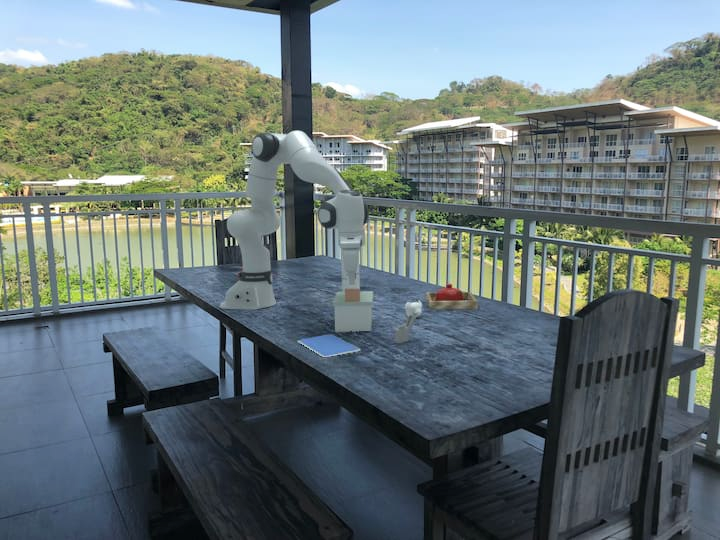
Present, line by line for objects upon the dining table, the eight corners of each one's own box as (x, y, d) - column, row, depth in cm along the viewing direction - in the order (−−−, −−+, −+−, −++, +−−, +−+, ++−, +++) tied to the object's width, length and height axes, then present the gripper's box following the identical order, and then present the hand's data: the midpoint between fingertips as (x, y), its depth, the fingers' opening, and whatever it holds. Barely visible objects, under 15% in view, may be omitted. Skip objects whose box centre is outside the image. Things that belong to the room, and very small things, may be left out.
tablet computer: (361, 353, 162) (361, 348, 162) (323, 360, 156) (323, 356, 156) (331, 337, 179) (331, 333, 179) (296, 343, 173) (296, 339, 172)
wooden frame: (429, 309, 212) (429, 301, 211) (426, 299, 229) (426, 292, 228) (477, 308, 211) (477, 301, 210) (470, 298, 228) (470, 291, 227)
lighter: (398, 343, 169) (398, 318, 167) (394, 342, 170) (394, 317, 169) (416, 339, 173) (416, 315, 171) (412, 338, 174) (412, 313, 173)
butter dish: (429, 305, 219) (429, 284, 218) (444, 300, 228) (444, 280, 226) (453, 309, 212) (453, 287, 210) (469, 304, 220) (469, 283, 219)
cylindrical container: (358, 306, 219) (356, 243, 215) (340, 305, 221) (339, 243, 217) (361, 302, 226) (360, 241, 222) (344, 301, 228) (343, 241, 223)
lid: (332, 307, 181) (332, 290, 180) (337, 296, 198) (336, 280, 197) (372, 307, 181) (371, 290, 180) (373, 296, 198) (372, 280, 197)
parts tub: (335, 331, 183) (334, 305, 182) (339, 319, 199) (338, 295, 197) (371, 331, 183) (370, 305, 181) (372, 319, 198) (371, 294, 197)
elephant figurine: (412, 320, 196) (412, 304, 195) (399, 316, 202) (399, 300, 201) (427, 317, 199) (427, 301, 198) (414, 313, 206) (413, 297, 205)
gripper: (344, 237, 190) (345, 276, 192) (339, 243, 170) (341, 287, 172) (362, 236, 190) (363, 276, 192) (360, 243, 169) (361, 287, 172)
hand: (352, 281), depth 182 cm, fingers open, 8 cm apart
